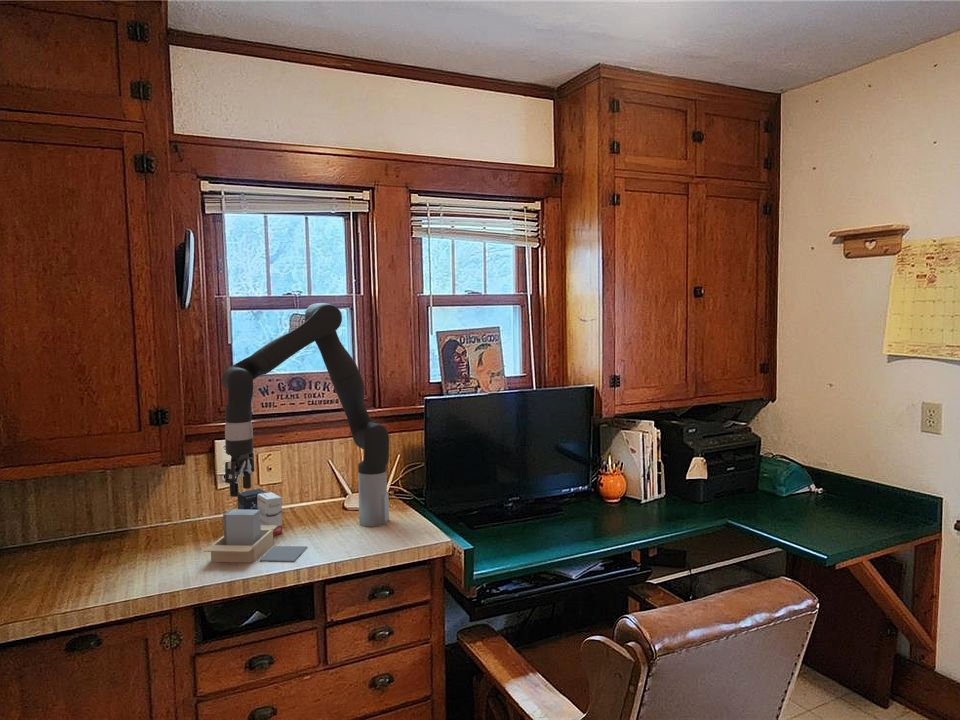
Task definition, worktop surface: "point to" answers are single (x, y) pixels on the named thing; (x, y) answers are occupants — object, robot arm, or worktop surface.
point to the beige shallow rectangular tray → (242, 548)
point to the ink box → (270, 510)
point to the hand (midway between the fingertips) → (240, 492)
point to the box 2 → (241, 527)
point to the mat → (283, 554)
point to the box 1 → (249, 499)
